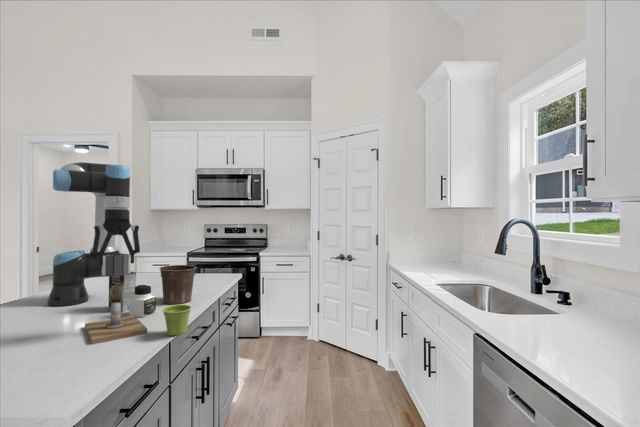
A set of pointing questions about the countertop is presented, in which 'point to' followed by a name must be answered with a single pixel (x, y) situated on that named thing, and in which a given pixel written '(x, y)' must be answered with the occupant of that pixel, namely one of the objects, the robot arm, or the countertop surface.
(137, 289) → the medicine bottle
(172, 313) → the plant pot
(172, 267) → the plant pot
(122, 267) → the knob
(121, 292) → the coffee box
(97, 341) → the board
